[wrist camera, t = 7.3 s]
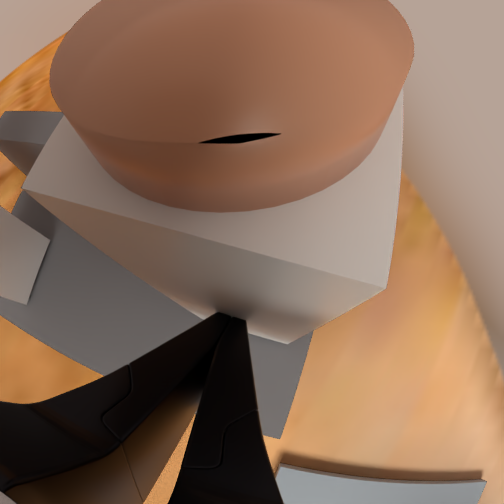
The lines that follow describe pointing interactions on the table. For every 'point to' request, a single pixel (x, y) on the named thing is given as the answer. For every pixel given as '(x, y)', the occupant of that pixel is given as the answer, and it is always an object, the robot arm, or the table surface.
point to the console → (116, 295)
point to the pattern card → (370, 489)
